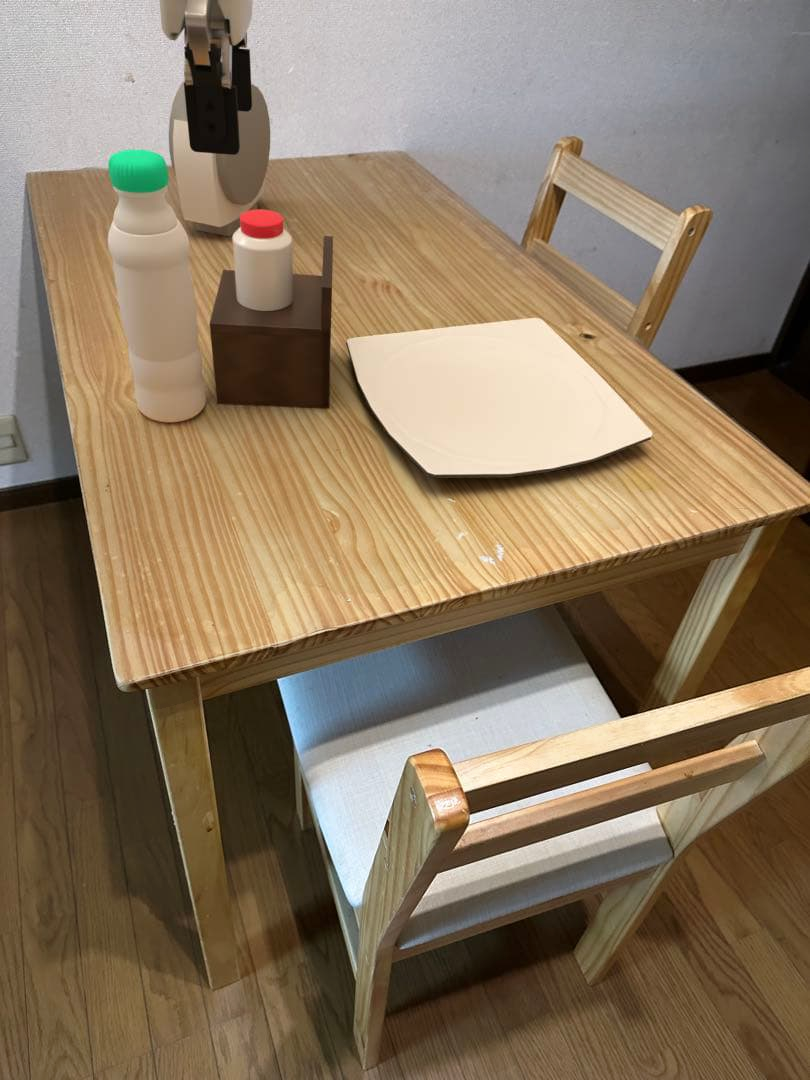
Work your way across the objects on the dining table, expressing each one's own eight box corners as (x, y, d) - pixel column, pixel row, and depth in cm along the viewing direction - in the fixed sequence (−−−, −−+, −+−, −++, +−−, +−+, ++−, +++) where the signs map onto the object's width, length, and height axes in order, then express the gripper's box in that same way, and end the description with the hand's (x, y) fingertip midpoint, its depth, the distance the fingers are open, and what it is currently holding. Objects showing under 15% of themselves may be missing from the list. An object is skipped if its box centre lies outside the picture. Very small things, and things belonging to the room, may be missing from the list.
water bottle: (139, 388, 83) (96, 140, 66) (206, 386, 84) (181, 143, 67) (135, 426, 78) (86, 169, 61) (206, 424, 79) (178, 172, 62)
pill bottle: (300, 307, 80) (300, 226, 74) (245, 314, 78) (240, 232, 72) (283, 282, 83) (281, 203, 78) (229, 288, 81) (223, 208, 75)
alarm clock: (227, 195, 124) (217, 51, 110) (276, 205, 123) (273, 61, 109) (174, 236, 111) (155, 79, 97) (228, 248, 110) (217, 90, 96)
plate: (330, 354, 92) (331, 334, 90) (539, 330, 101) (543, 311, 99) (418, 507, 73) (421, 486, 71) (664, 461, 82) (672, 441, 80)
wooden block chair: (217, 403, 82) (205, 279, 73) (228, 346, 91) (219, 228, 81) (329, 408, 83) (332, 287, 74) (330, 351, 92) (333, 236, 82)
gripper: (158, -212, 49) (187, 91, 60) (95, -214, 36) (147, 167, 48) (277, -197, 49) (283, 99, 61) (256, -195, 37) (268, 176, 49)
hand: (223, 129), depth 55 cm, fingers open, 9 cm apart
